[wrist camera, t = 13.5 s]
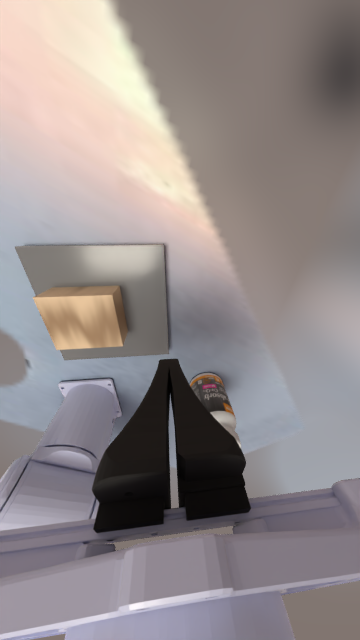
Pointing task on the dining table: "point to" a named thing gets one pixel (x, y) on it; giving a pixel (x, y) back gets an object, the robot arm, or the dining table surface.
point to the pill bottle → (215, 400)
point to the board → (109, 270)
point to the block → (83, 316)
